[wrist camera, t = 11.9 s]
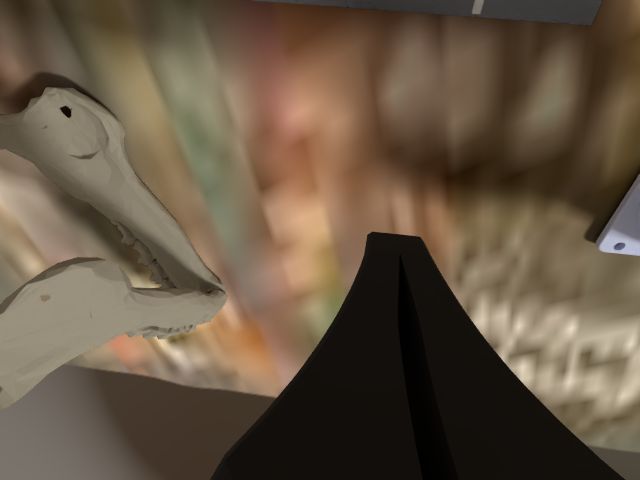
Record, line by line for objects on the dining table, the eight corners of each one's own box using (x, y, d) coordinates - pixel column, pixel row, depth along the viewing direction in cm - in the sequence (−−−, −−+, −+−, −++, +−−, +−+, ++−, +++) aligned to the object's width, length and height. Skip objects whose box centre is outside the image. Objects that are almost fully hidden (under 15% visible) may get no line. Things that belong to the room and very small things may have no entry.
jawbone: (173, 239, 31) (-45, 115, 19) (253, 199, 30) (72, 33, 17) (188, 424, 24) (-145, 423, 12) (293, 385, 23) (37, 335, 10)
